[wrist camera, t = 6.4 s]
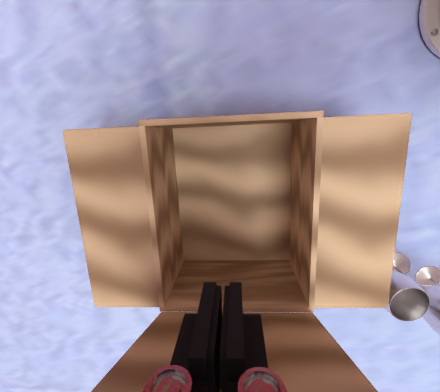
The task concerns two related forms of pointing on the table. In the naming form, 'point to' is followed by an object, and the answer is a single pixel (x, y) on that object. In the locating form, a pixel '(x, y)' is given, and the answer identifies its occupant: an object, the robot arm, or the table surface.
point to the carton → (241, 209)
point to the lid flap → (275, 350)
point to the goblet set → (414, 293)
